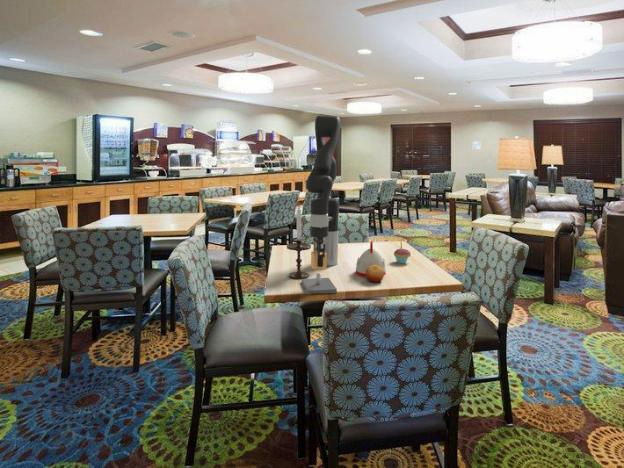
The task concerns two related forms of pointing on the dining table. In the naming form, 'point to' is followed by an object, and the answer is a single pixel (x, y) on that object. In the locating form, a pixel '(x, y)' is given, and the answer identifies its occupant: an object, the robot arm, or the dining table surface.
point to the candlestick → (298, 249)
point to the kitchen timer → (369, 261)
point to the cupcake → (401, 254)
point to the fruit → (375, 273)
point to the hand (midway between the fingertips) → (318, 264)
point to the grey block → (319, 285)
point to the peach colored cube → (314, 261)
